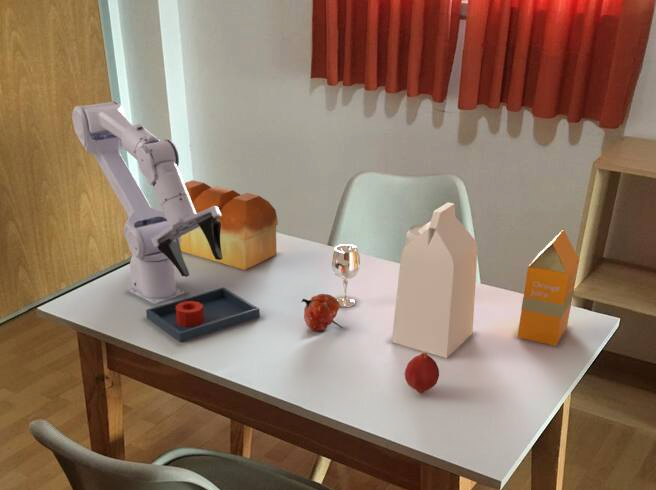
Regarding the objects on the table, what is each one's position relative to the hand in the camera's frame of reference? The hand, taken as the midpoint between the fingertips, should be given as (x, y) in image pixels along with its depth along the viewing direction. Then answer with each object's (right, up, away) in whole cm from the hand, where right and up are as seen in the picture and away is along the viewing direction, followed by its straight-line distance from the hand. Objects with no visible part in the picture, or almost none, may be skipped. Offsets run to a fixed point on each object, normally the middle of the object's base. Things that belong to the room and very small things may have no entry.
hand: (202, 267), depth 157 cm
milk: (+44, -13, +3) cm, 46 cm away
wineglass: (+28, -5, +17) cm, 33 cm away
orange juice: (+66, -12, +5) cm, 68 cm away
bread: (-1, +11, +42) cm, 43 cm away
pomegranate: (+23, -11, +6) cm, 26 cm away
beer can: (+43, -3, +19) cm, 48 cm away
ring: (-3, -10, +8) cm, 13 cm away
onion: (+40, -24, -14) cm, 49 cm away
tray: (-1, -9, +10) cm, 13 cm away
